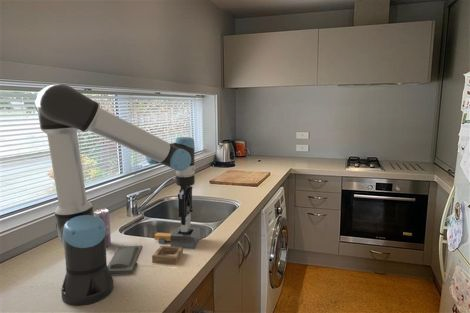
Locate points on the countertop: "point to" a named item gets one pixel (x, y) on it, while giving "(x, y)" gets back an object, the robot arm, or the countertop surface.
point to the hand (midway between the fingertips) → (185, 229)
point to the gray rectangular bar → (188, 223)
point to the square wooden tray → (161, 258)
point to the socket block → (183, 238)
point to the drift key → (163, 236)
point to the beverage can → (105, 222)
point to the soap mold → (124, 260)
